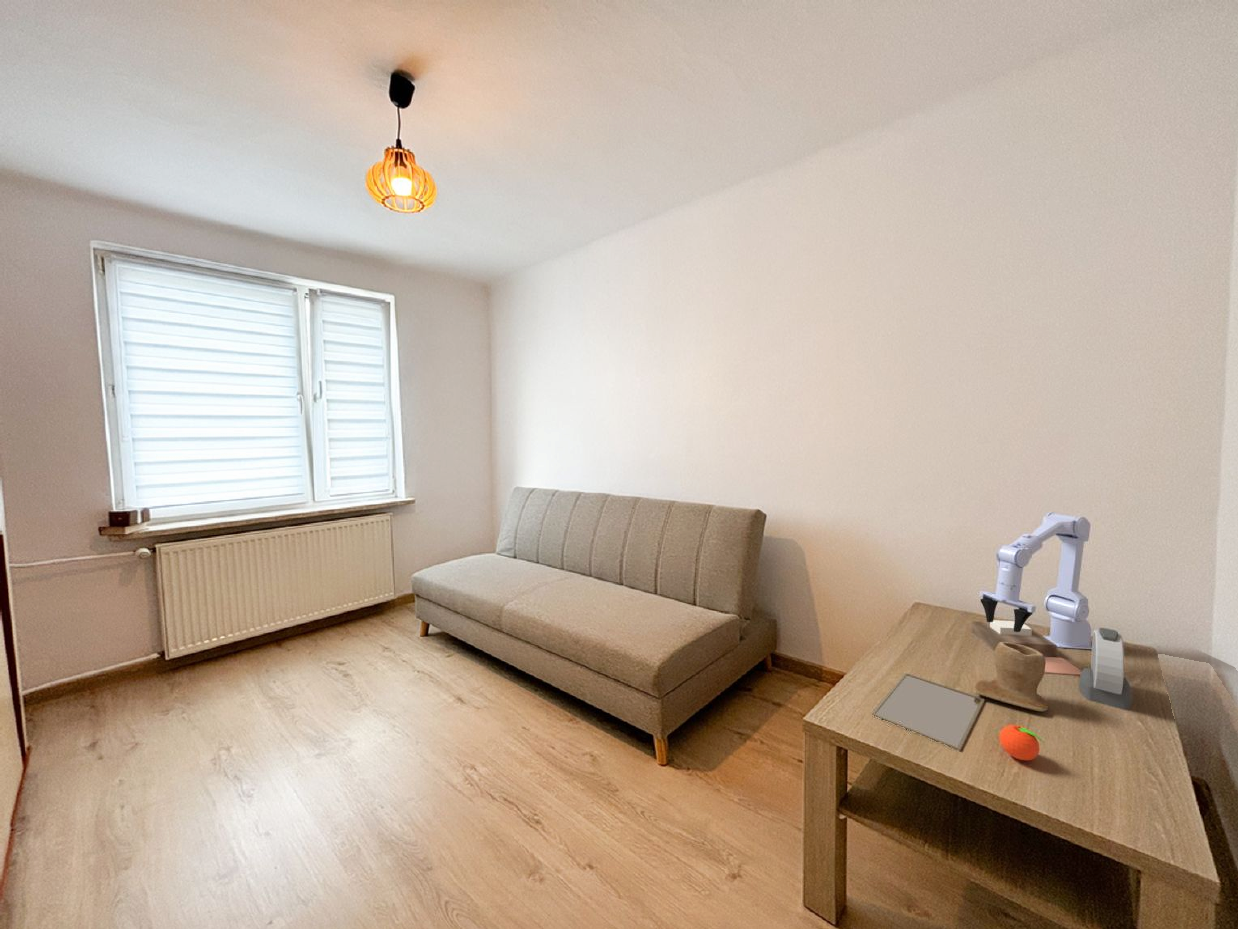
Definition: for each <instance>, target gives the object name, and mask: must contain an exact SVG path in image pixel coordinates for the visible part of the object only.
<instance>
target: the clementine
mask: <svg viewBox="0 0 1238 929" xmlns="http://www.w3.org/2000/svg"><path fill="white" fill-rule="evenodd" d="M998 736H999V742H1000V745H1001V747H1002V748H1003V750H1005V752H1006V753H1007V754H1008V755H1009V756H1011V757H1013V758H1015V759H1017V760H1020V761H1031V760H1033V759H1035V758H1037V756H1038V755H1039V753H1040V743H1039V741H1038V740H1040V741H1041V742H1042V744H1043V745H1044V747H1045V748H1047V746H1046V744H1045V742H1044V740H1042V738H1041V737H1040V736H1038V735H1037V734H1036V733H1034V732H1033V731H1031V730H1029V729H1027V728H1025V727H1024V726H1021V725H1017V724H1010V725H1009V724H1008V725H1005V726H1004V727H1003V728H1002V729H1001V730H1000V732H999V735H998Z"/></svg>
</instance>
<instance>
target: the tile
mask: <svg viewBox="0 0 1238 929" xmlns="http://www.w3.org/2000/svg"><path fill="white" fill-rule="evenodd" d="M1014 622H1015V620H1014V621H1013V620H999V619H998V620H997V619H996V620H995V619H994V620H993V622H990V627H991V628H992V629H994V630H995V631H996V632H998V633H999V634H1002V635H1021V636H1031V634H1032V627H1030V626H1028V625H1027V624H1025V623H1024V624H1023V626H1022V628H1021V631H1020V632H1015V631H1014ZM1026 625H1027V626H1026ZM1029 627H1030V628H1029Z"/></svg>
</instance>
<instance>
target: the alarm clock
mask: <svg viewBox="0 0 1238 929" xmlns="http://www.w3.org/2000/svg"><path fill="white" fill-rule="evenodd" d="M1091 641H1092V642H1091V647H1092V649H1091V653H1090V654H1091V656H1090V657H1091V658H1090V659H1091V660H1090V662H1091V663H1090V664H1091V665H1090V666H1091V667H1090V668H1089V667H1088V668H1087V667H1086V668H1083V669H1082V670H1081V671H1082V673H1081V675H1079V676H1080V677H1079V681H1078V690H1079V692H1080V694H1081V695H1082V696H1083V697H1084V698H1085V699H1086V700H1087V701H1090V702H1093V703H1097V704H1101V705H1105V706H1109V707H1113V708H1116V709H1120V710H1124V711H1128V710H1130V709H1131V708H1132V706H1133V699H1134V694H1133V690H1132V687H1131V685H1130V683H1129V680H1128V679H1127V678H1126V677H1125V675H1124V674H1125V669H1124V668H1125V650H1124V649H1125V648H1124V640H1123V636H1122V635H1121V634H1120V633H1119V632H1118V631H1117V630H1115V629H1110V628H1105V627H1100V628H1099V629H1094V630H1093V633H1092V638H1091Z"/></svg>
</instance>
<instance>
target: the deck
mask: <svg viewBox="0 0 1238 929" xmlns="http://www.w3.org/2000/svg"><path fill="white" fill-rule="evenodd" d="M971 625H972V627H971V633H973V634H974V635H975V636H976V637H977V638H979V639H980V640H981V641H982V642H983V643H984V644H986V646H988V647H989V648H991V649H992V650H993V651H994V652H995V649H996V647H997V645H998V643H1000V642H1009V643H1015V644H1019V645H1023V646H1026V647H1029V648H1032V649H1034V650H1037V651H1038V652H1040V653H1041V654H1042V655H1043V656H1044V657H1055V658H1057V645H1056V644H1054V643H1052V642H1051V641H1049V640H1048V639H1046V638H1045V637H1043V636H1044V635H1042V634H1040V633H1039V632H1038V631H1036V630H1034V629H1032V628H1031V627H1030V626H1028V625H1027V624H1025V625H1026V626H1028V627H1029V628H1031V629H1032V634H1031V636H1021V635H1002V634H999V633H998V632H996V631H995V630H994V629H992V628H991V627H990V622H987V621H972V624H971Z"/></svg>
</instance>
